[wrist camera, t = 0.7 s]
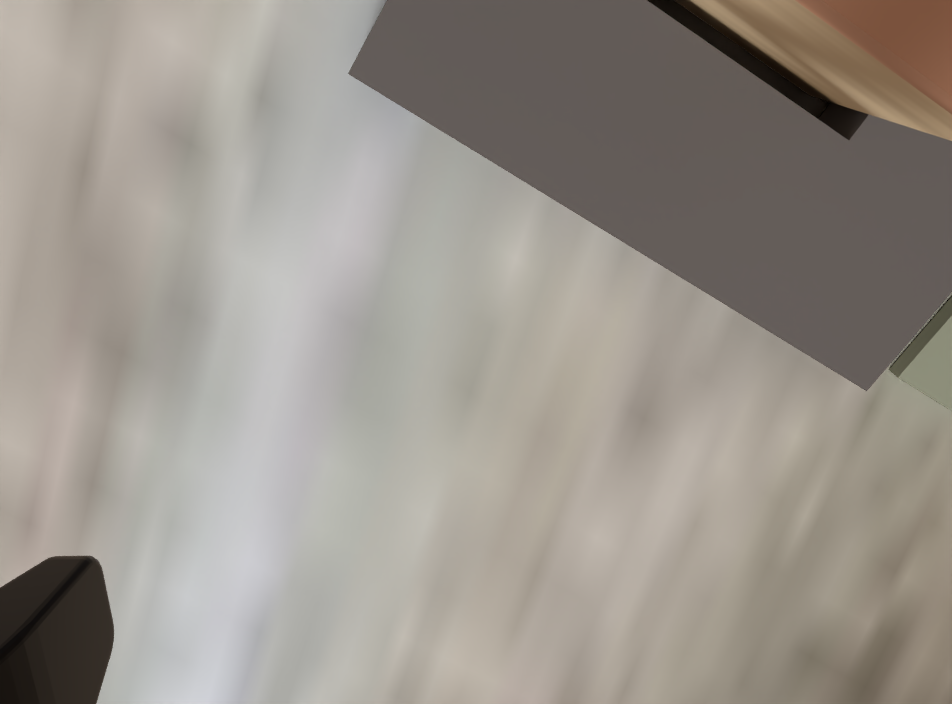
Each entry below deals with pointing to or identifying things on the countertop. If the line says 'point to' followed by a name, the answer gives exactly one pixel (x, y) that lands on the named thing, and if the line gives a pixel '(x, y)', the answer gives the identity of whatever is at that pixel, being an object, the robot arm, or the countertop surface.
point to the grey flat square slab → (690, 162)
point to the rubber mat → (930, 359)
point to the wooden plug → (851, 52)
